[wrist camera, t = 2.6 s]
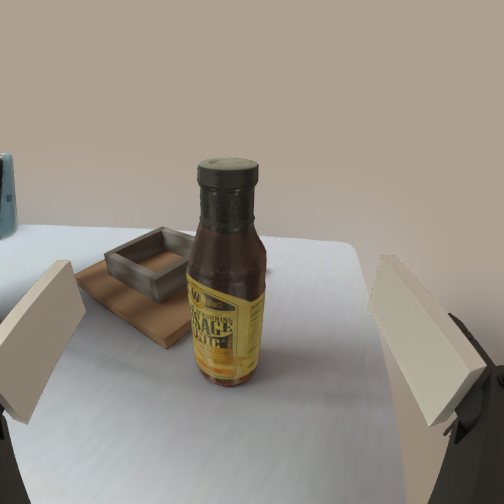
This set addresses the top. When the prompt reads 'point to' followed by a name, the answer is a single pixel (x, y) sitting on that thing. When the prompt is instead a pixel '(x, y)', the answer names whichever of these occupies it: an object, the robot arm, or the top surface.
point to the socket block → (146, 284)
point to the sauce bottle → (227, 273)
